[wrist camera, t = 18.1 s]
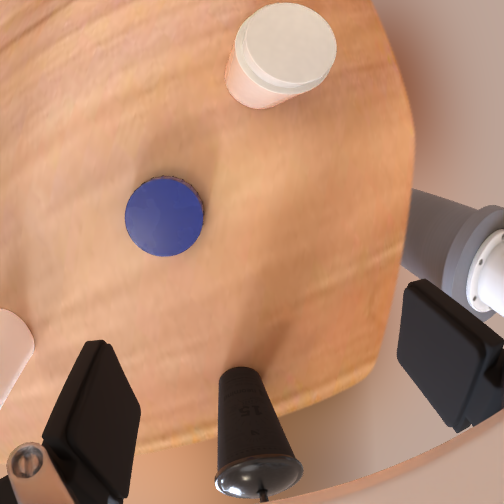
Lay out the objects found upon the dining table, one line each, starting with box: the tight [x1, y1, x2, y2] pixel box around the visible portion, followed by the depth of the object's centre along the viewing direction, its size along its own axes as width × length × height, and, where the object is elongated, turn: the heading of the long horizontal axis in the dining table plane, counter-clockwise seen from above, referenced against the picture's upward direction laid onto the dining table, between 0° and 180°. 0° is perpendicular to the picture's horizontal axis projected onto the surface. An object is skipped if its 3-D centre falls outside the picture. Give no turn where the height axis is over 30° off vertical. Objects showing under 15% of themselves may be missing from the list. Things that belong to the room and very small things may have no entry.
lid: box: [125, 175, 204, 256], centre depth 26 cm, size 7×7×2 cm
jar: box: [225, 2, 337, 109], centre depth 19 cm, size 6×6×11 cm
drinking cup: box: [215, 367, 303, 503], centre depth 25 cm, size 8×8×20 cm
